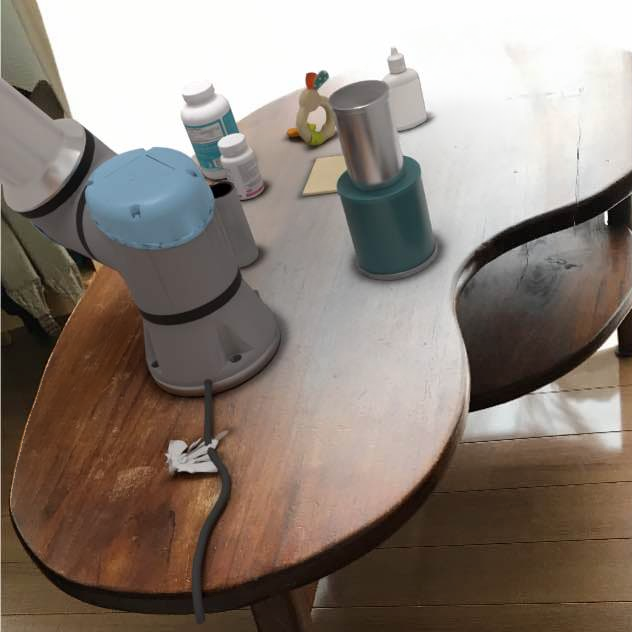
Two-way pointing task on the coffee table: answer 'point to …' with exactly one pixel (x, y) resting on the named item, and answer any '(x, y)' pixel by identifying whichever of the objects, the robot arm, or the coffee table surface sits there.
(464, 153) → the coffee table surface
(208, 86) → the pill bottle
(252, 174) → the pill bottle
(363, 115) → the cup
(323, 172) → the mat
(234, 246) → the grey hollow tube
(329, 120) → the rattle
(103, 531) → the coffee table surface
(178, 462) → the flower
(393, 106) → the eye dropper bottle
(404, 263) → the teal tin can
